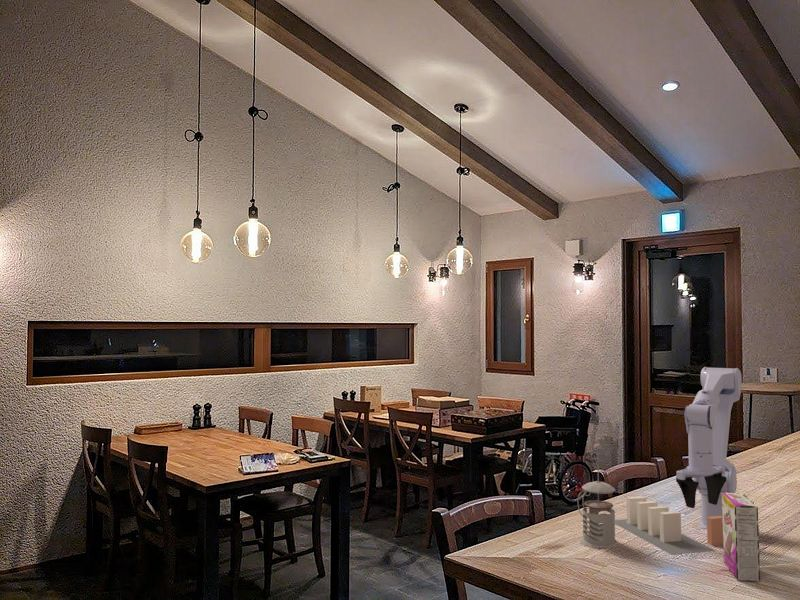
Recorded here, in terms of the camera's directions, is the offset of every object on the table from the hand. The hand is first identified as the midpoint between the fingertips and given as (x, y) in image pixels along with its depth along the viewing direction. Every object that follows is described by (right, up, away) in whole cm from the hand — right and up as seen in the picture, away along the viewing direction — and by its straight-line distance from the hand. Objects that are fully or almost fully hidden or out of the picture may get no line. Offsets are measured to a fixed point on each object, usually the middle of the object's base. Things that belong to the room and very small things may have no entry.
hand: (701, 505), depth 171 cm
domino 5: (+3, -9, -3) cm, 10 cm away
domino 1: (-12, -9, +14) cm, 20 cm away
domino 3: (-9, -9, +4) cm, 14 cm away
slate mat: (-9, -9, +4) cm, 14 cm away
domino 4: (-8, -9, -1) cm, 12 cm away
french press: (-27, -10, 0) cm, 28 cm away
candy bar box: (-1, -9, -21) cm, 23 cm away
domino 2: (-10, -9, +9) cm, 17 cm away
